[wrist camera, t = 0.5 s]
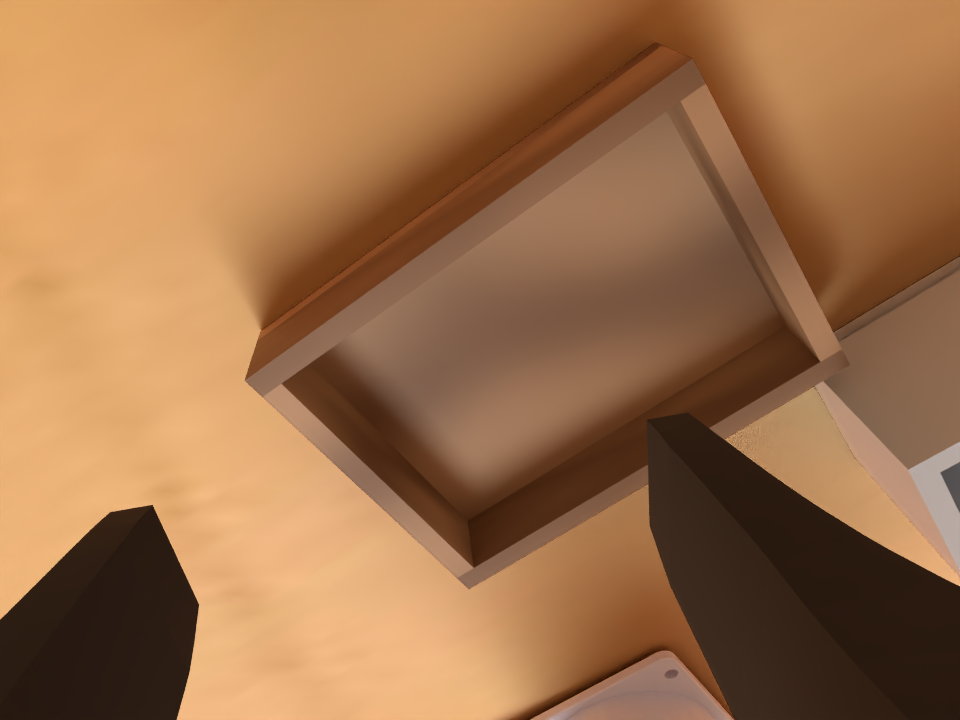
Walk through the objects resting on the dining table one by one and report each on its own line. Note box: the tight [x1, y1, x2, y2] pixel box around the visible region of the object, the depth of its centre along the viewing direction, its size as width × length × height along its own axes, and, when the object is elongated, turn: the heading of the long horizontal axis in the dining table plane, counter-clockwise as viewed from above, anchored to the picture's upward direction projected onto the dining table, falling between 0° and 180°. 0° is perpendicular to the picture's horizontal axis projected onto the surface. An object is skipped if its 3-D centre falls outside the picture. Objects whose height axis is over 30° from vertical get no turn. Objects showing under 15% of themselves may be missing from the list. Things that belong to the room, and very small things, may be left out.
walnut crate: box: [245, 43, 850, 589], centre depth 20 cm, size 9×12×2 cm
